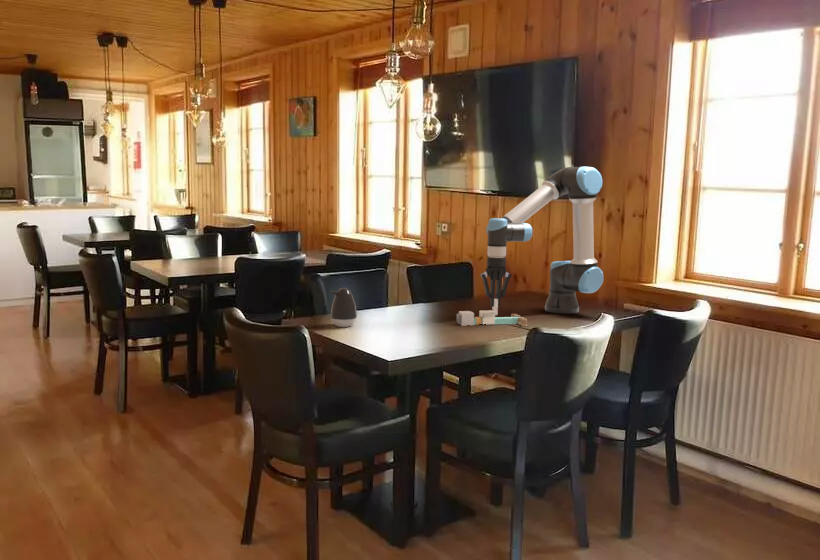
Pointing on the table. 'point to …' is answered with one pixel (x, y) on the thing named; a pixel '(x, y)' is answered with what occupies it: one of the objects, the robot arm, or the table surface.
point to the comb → (520, 320)
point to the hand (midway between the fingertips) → (494, 314)
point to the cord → (468, 319)
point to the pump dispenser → (343, 308)
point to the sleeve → (487, 316)
